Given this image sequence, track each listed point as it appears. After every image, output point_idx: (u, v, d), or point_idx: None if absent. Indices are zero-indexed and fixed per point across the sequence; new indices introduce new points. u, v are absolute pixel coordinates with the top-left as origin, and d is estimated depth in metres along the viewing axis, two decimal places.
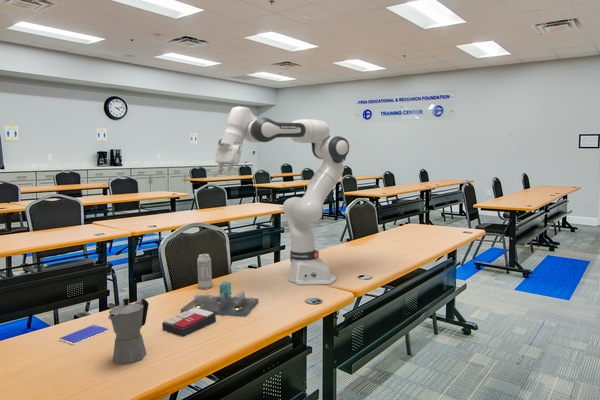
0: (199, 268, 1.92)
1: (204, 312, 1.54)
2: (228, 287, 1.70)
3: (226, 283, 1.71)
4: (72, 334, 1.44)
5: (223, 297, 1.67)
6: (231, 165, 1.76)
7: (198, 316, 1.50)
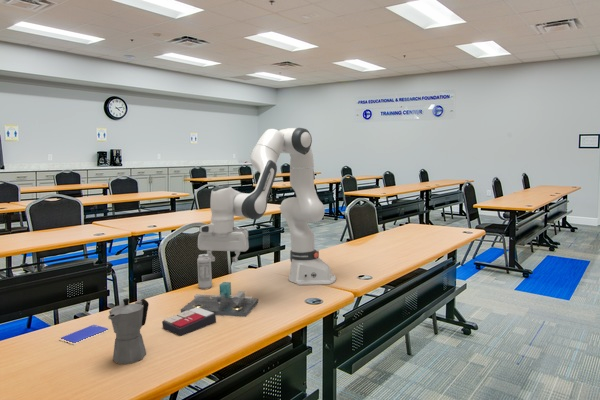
0: (199, 268, 1.92)
1: (204, 312, 1.54)
2: (228, 287, 1.70)
3: (226, 283, 1.71)
4: (72, 334, 1.44)
5: (223, 297, 1.67)
6: (239, 252, 1.68)
7: (197, 316, 1.50)
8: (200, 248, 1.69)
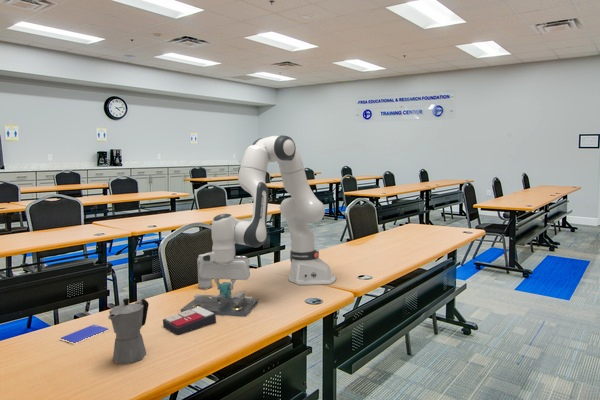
0: None
1: (205, 312, 1.54)
2: None
3: (226, 283, 1.71)
4: (72, 334, 1.44)
5: (223, 297, 1.67)
6: (235, 280, 1.70)
7: (197, 316, 1.51)
8: (202, 276, 1.70)
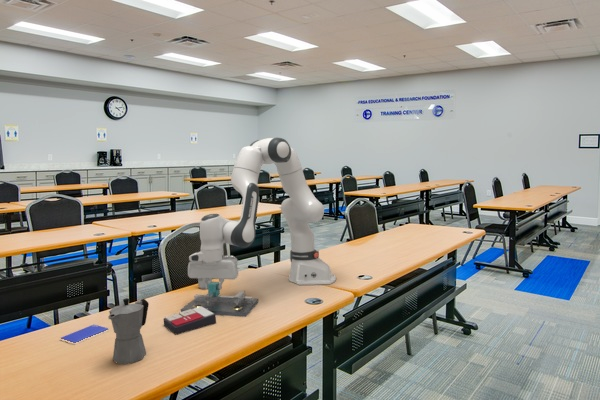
0: None
1: (205, 312, 1.54)
2: (216, 287, 1.71)
3: (215, 283, 1.72)
4: (73, 334, 1.44)
5: (211, 296, 1.68)
6: (223, 279, 1.71)
7: (197, 316, 1.51)
8: (190, 276, 1.71)
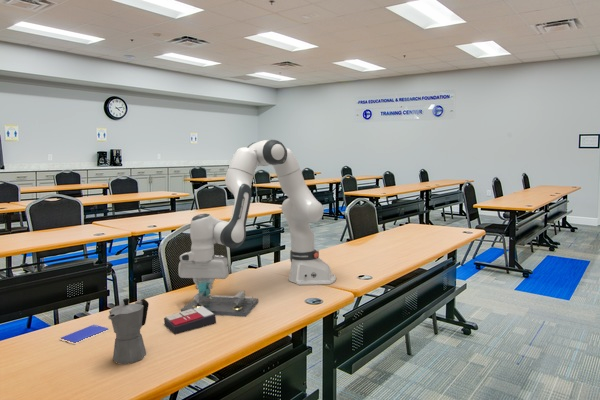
0: None
1: (205, 312, 1.54)
2: None
3: (205, 282, 1.73)
4: (73, 334, 1.44)
5: (202, 296, 1.69)
6: (213, 279, 1.72)
7: (196, 315, 1.51)
8: (181, 276, 1.72)
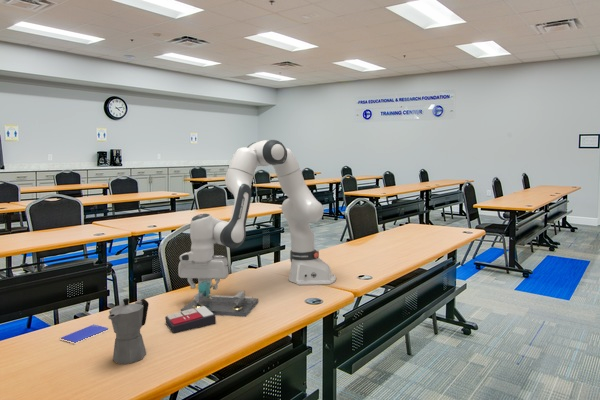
0: None
1: (206, 312, 1.54)
2: (207, 286, 1.72)
3: (205, 282, 1.73)
4: (73, 334, 1.44)
5: (201, 296, 1.69)
6: (219, 279, 1.71)
7: (196, 315, 1.51)
8: (181, 276, 1.72)
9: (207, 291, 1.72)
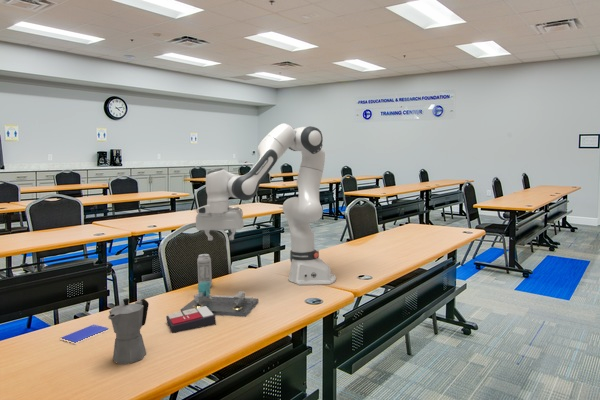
0: (199, 268, 1.92)
1: (206, 312, 1.54)
2: (207, 286, 1.72)
3: (205, 282, 1.73)
4: (73, 333, 1.44)
5: (201, 296, 1.69)
6: (235, 230, 1.80)
7: (196, 315, 1.51)
8: (198, 228, 1.81)
9: (207, 291, 1.72)
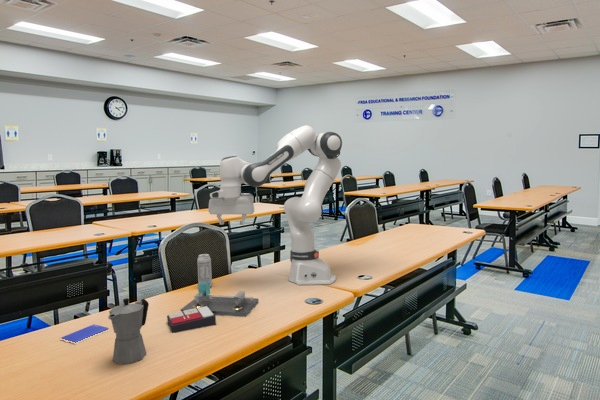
0: (199, 268, 1.92)
1: (206, 312, 1.54)
2: (207, 286, 1.72)
3: (205, 282, 1.73)
4: (73, 333, 1.44)
5: (201, 296, 1.69)
6: (245, 215, 1.88)
7: (196, 315, 1.51)
8: (211, 212, 1.89)
9: (207, 291, 1.72)
